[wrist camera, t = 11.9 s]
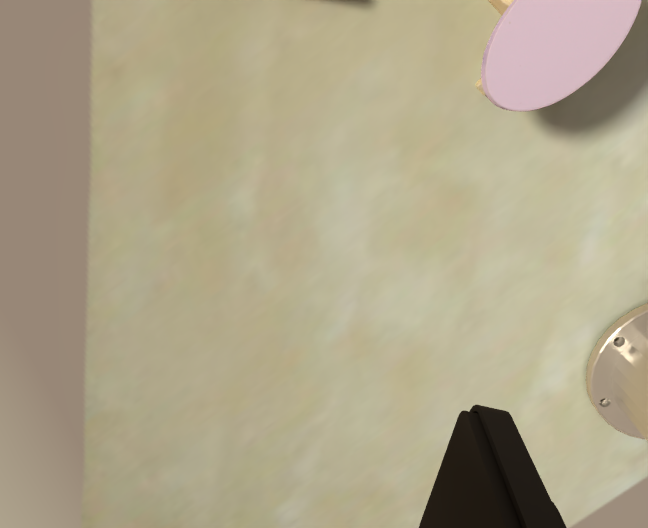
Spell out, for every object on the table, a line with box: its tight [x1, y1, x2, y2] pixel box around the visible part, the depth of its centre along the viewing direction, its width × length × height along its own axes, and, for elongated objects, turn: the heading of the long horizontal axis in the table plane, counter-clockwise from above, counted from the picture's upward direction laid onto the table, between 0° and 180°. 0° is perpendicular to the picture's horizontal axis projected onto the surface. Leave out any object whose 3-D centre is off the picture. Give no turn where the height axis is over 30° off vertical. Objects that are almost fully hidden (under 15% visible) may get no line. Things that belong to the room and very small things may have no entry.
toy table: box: [475, 0, 642, 111], centre depth 32 cm, size 10×9×6 cm
